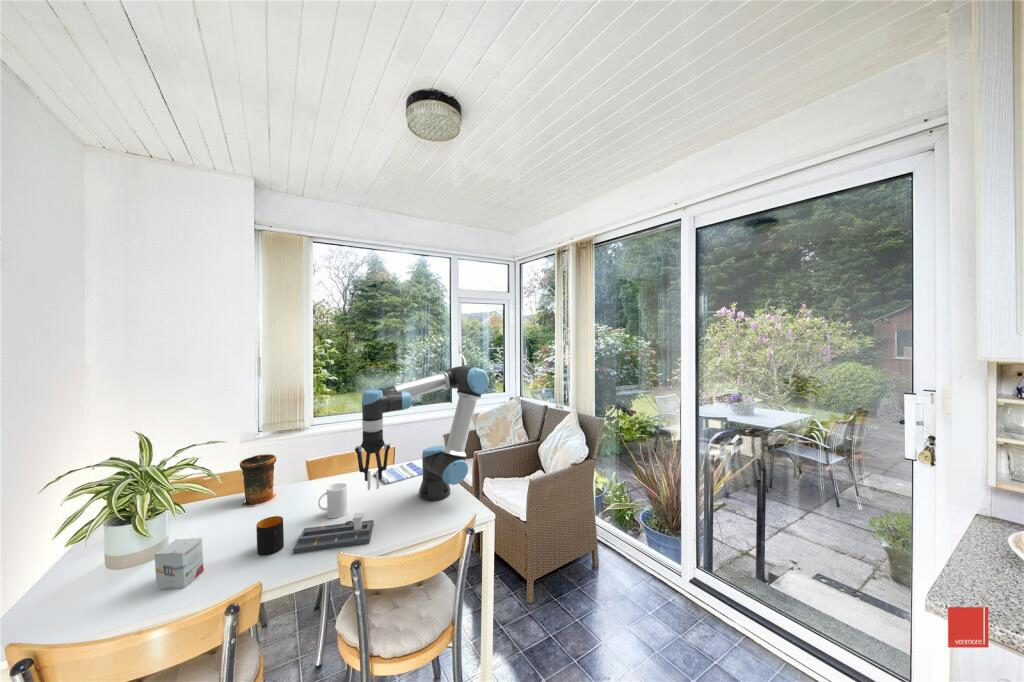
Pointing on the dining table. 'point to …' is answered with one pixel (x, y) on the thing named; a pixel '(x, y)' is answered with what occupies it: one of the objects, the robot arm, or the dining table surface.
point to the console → (333, 537)
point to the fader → (357, 520)
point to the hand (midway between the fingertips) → (373, 487)
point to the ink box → (178, 563)
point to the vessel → (258, 479)
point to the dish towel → (400, 473)
